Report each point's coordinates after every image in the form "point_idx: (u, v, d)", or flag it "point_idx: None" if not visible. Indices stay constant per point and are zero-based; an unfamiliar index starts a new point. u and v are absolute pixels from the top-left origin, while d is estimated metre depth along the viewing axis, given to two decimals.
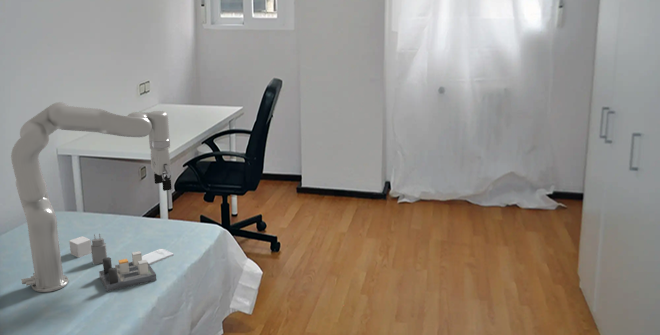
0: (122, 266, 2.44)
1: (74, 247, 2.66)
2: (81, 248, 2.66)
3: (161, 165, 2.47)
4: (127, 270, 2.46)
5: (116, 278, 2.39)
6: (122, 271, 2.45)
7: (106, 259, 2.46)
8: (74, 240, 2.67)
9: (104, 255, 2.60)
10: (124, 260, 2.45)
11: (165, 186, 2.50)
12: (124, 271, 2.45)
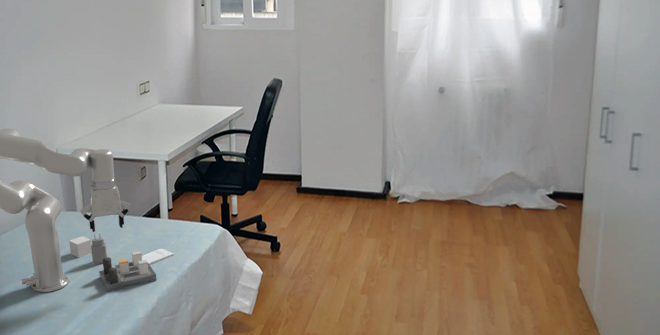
0: (122, 266, 2.44)
1: (74, 247, 2.66)
2: (81, 248, 2.66)
3: (120, 202, 2.38)
4: (127, 270, 2.46)
5: (116, 278, 2.39)
6: (122, 271, 2.45)
7: (106, 259, 2.46)
8: (74, 240, 2.68)
9: (104, 255, 2.60)
10: (124, 260, 2.45)
11: (122, 222, 2.41)
12: (124, 271, 2.45)
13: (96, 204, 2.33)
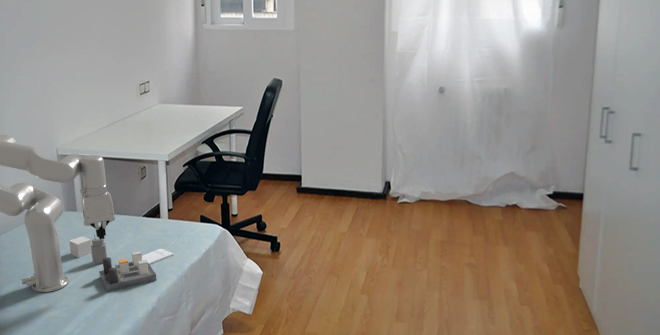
0: (122, 266, 2.44)
1: (74, 247, 2.66)
2: (81, 248, 2.66)
3: None
4: (127, 270, 2.46)
5: (116, 278, 2.39)
6: (122, 271, 2.45)
7: (106, 259, 2.46)
8: (74, 240, 2.68)
9: (104, 255, 2.60)
10: (124, 260, 2.45)
11: (104, 233, 2.38)
12: (124, 271, 2.45)
13: (89, 211, 2.31)
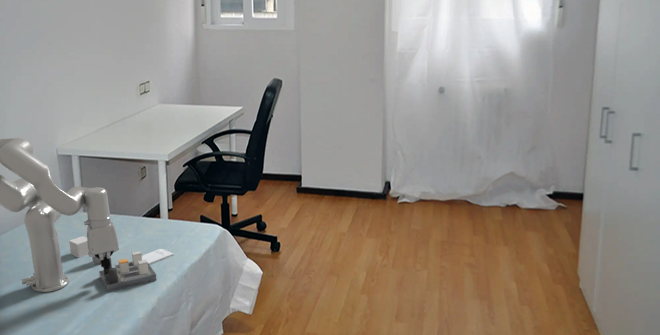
0: (122, 266, 2.44)
1: (74, 247, 2.66)
2: (81, 248, 2.66)
3: None
4: (127, 270, 2.46)
5: (116, 278, 2.39)
6: (122, 271, 2.45)
7: None
8: (74, 240, 2.67)
9: (104, 255, 2.60)
10: (124, 260, 2.45)
11: (109, 263, 2.41)
12: (124, 271, 2.45)
13: (93, 242, 2.35)
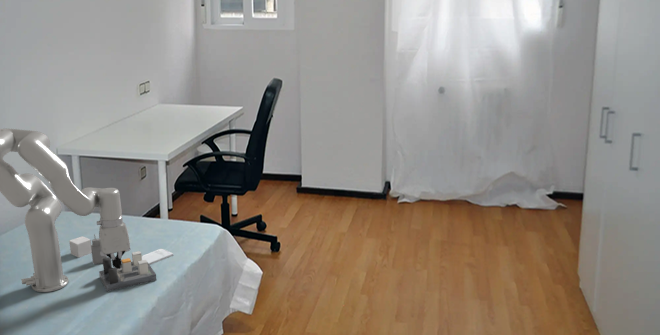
0: (125, 266, 2.45)
1: (74, 247, 2.66)
2: (81, 248, 2.66)
3: (128, 238, 2.42)
4: (130, 269, 2.46)
5: (116, 278, 2.39)
6: (125, 270, 2.45)
7: (106, 259, 2.46)
8: (74, 240, 2.67)
9: None
10: (127, 259, 2.46)
11: (120, 263, 2.44)
12: (127, 270, 2.46)
13: (105, 242, 2.37)
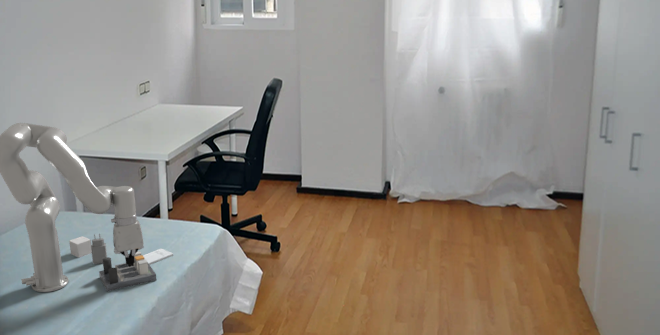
0: None
1: (74, 247, 2.66)
2: (81, 248, 2.66)
3: (142, 236, 2.45)
4: None
5: (116, 278, 2.39)
6: None
7: (106, 259, 2.46)
8: (74, 240, 2.68)
9: (104, 255, 2.60)
10: (140, 257, 2.48)
11: (133, 261, 2.46)
12: None
13: (120, 240, 2.40)
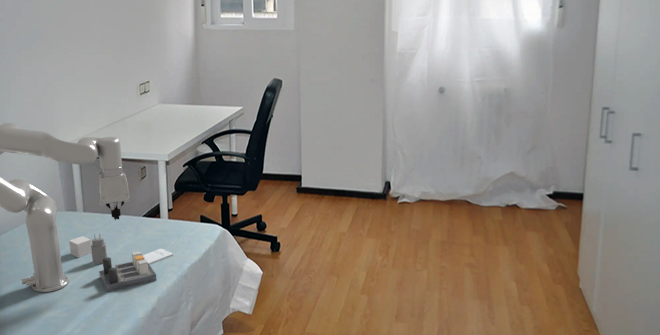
0: None
1: (74, 247, 2.66)
2: (81, 248, 2.66)
3: None
4: None
5: (116, 278, 2.39)
6: None
7: (106, 259, 2.46)
8: (74, 240, 2.68)
9: (104, 255, 2.60)
10: (140, 257, 2.48)
11: (119, 214, 2.43)
12: None
13: (105, 191, 2.37)
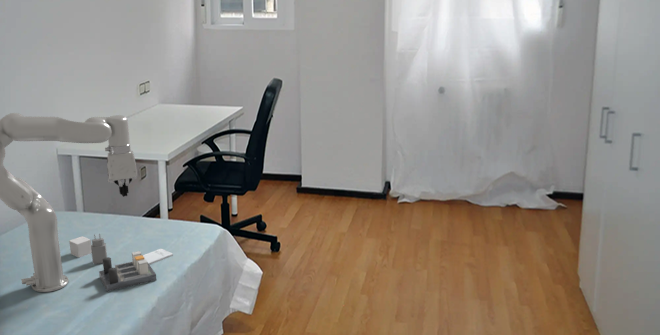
0: None
1: (74, 247, 2.66)
2: (81, 248, 2.66)
3: None
4: None
5: (116, 278, 2.39)
6: None
7: (106, 259, 2.46)
8: (74, 240, 2.68)
9: (104, 255, 2.60)
10: (140, 257, 2.48)
11: (127, 191, 2.50)
12: None
13: (113, 168, 2.43)
